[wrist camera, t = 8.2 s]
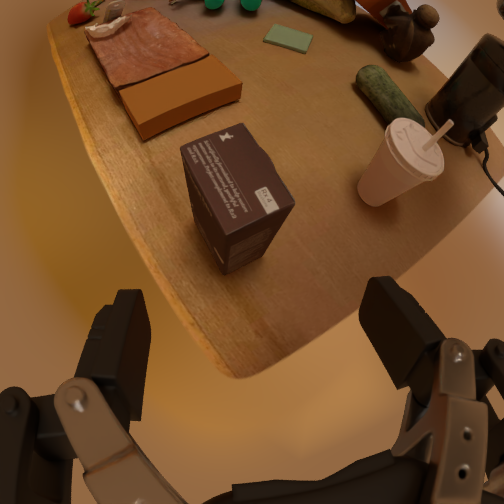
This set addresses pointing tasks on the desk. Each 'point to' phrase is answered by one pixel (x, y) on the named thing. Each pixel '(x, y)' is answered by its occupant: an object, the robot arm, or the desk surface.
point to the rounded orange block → (382, 7)
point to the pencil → (98, 2)
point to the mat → (288, 38)
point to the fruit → (81, 12)
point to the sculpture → (408, 32)
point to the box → (234, 195)
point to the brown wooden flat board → (162, 72)
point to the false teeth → (107, 27)
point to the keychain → (114, 10)
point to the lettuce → (331, 8)
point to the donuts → (251, 3)
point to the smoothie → (402, 161)
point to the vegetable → (386, 95)
